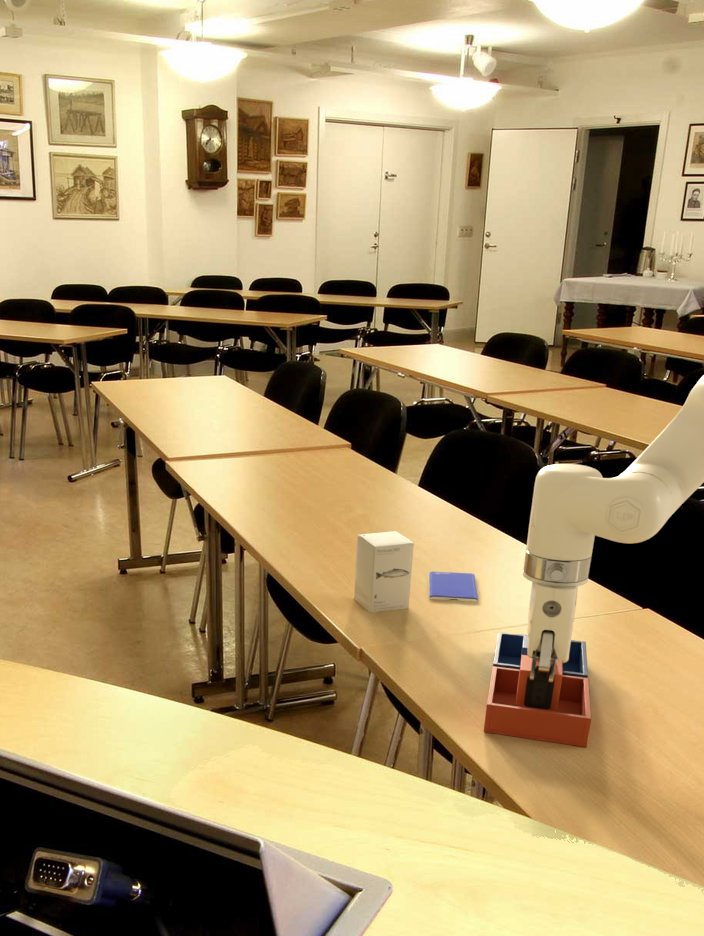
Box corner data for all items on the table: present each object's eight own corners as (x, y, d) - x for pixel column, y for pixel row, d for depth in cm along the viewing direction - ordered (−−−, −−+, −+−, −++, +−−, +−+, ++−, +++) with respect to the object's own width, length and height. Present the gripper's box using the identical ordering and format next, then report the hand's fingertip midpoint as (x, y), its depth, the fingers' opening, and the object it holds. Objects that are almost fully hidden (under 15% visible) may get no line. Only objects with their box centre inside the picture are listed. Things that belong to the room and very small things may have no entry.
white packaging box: (369, 617, 155) (373, 546, 150) (352, 601, 161) (356, 533, 156) (409, 612, 156) (415, 542, 151) (391, 597, 163) (396, 529, 158)
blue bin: (581, 666, 134) (585, 641, 133) (583, 702, 124) (588, 675, 123) (495, 655, 139) (498, 631, 137) (490, 689, 128) (493, 663, 127)
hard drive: (429, 571, 170) (429, 595, 159) (474, 573, 168) (478, 597, 157) (428, 578, 171) (428, 603, 160) (473, 581, 169) (477, 606, 158)
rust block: (557, 693, 120) (562, 659, 119) (557, 710, 116) (562, 675, 114) (517, 688, 122) (521, 654, 120) (515, 704, 118) (520, 669, 116)
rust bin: (584, 704, 123) (588, 677, 122) (586, 747, 113) (591, 718, 111) (489, 691, 128) (492, 666, 126) (483, 731, 117) (486, 704, 116)
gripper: (591, 592, 104) (568, 732, 110) (587, 548, 118) (567, 675, 125) (521, 585, 106) (503, 722, 113) (526, 543, 121) (509, 667, 128)
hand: (537, 696), depth 119 cm, fingers closed on rust block, 5 cm apart
